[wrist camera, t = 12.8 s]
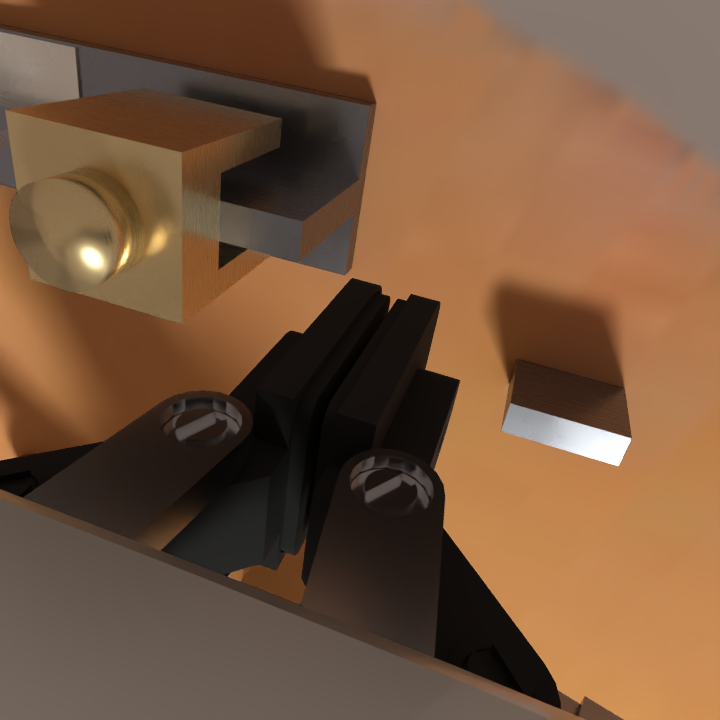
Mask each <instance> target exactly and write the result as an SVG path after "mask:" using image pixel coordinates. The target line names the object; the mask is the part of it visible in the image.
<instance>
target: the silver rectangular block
mask: <svg viewBox="0 0 720 720" xmlns="http://www.w3.org/2000/svg"><path fill="white" fill-rule="evenodd" d="M501 431H502V432H506V433H509V434H512V435H516V436H519V437H522V438H526V439H529V440H532V441H536V442H539V443H542V444H546V445H549V446H552V447H556V448H559V449H563V450H566V451H569V452H573V453H576V454H579V455H583V456H586V457H589V458H593V459H596V460H599V461H603V462H606V463H609V464H613V465H616V466H619V464H620V462H621V460H622V457H623V455H624V453H625V451H626V449H627V447H628V445H629V443H630V441H631V439H632V437H631V430H630V422H629V415H628V408H627V401H626V393H625V389H623V388H620V387H616V386H613V385H609V384H605V383H602V382H598V381H594V380H591V379H587V378H584V377H580V376H576V375H573V374H569V373H565V372H562V371H558V370H555V369H551V368H547V367H544V366H540V365H536V364H533V363H529V362H526V361H522V360H517V363H516V366H515V369H514V372H513V375H512V378H511V381H510V384H509V388H508V394H507V400H506V405H505V411H504V417H503V422H502V428H501Z"/></svg>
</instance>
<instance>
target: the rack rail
mask: <svg viewBox="0 0 720 720" xmlns="http://www.w3.org/2000/svg"><path fill="white" fill-rule="evenodd" d="M141 88H147V89H152V90H156V91H161V92H165V93H170V94H174V95H179V96H183V97H188V98H192V99H197V100H201V101H206V102H210V103H215V104H219V105H224V106H228V107H233V108H237V109H242V110H246V111H251V112H255V113H260V114H264V115H269V116H273V117H278V118H282V125H281V138H280V147H279V148H277V149H274V150H272V151H270V152H267V153H265V154H263V155H261V156H258V157H256V158H254V159H251V160H249V161H247V162H244V163H242V164H240V165H238V166H235V167H233V168H231V169H228V170H226V171H224V172H221V191H220V226H219V241H220V242H224V243H228V244H231V245H235V246H239V247H243V248H247V249H250V250H254V251H258V252H262V253H265V254H269V255H271V256H273V257H277V258H281V259H285V260H288V261H292V262H296V263H300V264H304V265H307V266H311V267H315V268H319V269H322V270H326V271H330V272H334V273H338V274H341V275H346V274H347V273H348V272H349V270H350V269H351V268H352V262H353V255H354V248H355V242H356V235H357V228H358V222H359V215H360V208H361V202H362V195H363V188H364V182H365V175H366V168H367V162H368V155H369V148H370V142H371V135H372V128H373V122H374V115H375V109H376V103H373V102H368V101H363V100H358V99H354V98H349V97H344V96H339V95H334V94H330V93H325V92H320V91H315V90H311V89H306V88H301V87H296V86H291V85H287V84H282V83H277V82H272V81H267V80H263V79H258V78H253V77H248V76H244V75H239V74H234V73H229V72H224V71H220V70H215V69H210V68H205V67H200V66H196V65H191V64H186V63H181V62H177V61H172V60H167V59H162V58H157V57H153V56H148V55H143V54H138V53H134V52H129V51H124V50H119V49H114V48H110V47H105V46H100V45H95V44H90V43H86V42H81V41H76V40H71V39H67V38H62V37H57V36H52V35H47V34H43V33H38V32H33V31H28V30H24V29H19V28H14V27H9V26H4V25H0V184H1V185H5V186H9V187H12V188H16V189H17V187H16V181H15V174H14V167H13V160H12V153H11V147H10V140H9V133H8V126H7V120H6V113H5V110H9V109H15V108H21V107H27V106H34V105H40V104H46V103H53V102H59V101H65V100H71V99H78V98H84V97H90V96H97V95H103V94H109V93H115V92H122V91H128V90H134V89H141Z"/></svg>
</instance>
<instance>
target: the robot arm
mask: <svg viewBox="0 0 720 720" xmlns="http://www.w3.org/2000/svg"><path fill="white" fill-rule="evenodd" d="M389 305H390V296H387V295H383V294H382V288H381V286H380V285H376V284H372V283H369V282H365V281H361V280H358V279H354V278H352V279H351V280H350V281H349V282H348V283H347V284H346V285H345V286H344V288H343V289H342V290H341V291H340V292H339V293H338V294H337V296H336V297H335V298H334V299H333V300H332V301H331V302H330V304H329V305H328V306H327V307H326V308H325V309H324V310H323V312H322V313H321V314H320V315H319V316H318V317H317V318H316V320H315V321H314V322H313V323H312V324H311V325H310V326H309V328H308V329H307V330H306V331H305V332H304V333H303V334H302V333H299V332H295V331H289V332H288V333H286V334H285V335H284V336H283V337H282V339H281V340H280V341H279V342H278V343H277V344H276V345H275V346H274V347H273V348H272V349H271V350H270V352H269V353H268V354H267V355H266V356H265V357H264V358H263V359H262V360H261V361H260V362H259V363H258V364H257V366H256V367H255V368H254V369H253V370H252V371H251V372H250V373H249V374H248V375H247V376H246V377H245V378H244V380H243V381H242V382H241V383H240V384H239V385H238V386H237V387H236V388H235V389H234V390H233V391H232V392H231V394H230V395H226V394H223V393H220V392H213V391H191V392H186V393H182V394H178V395H174V396H172V397H170V398H168V399H166V400H164V401H163V402H161V403H159V404H158V405H157V406H155V407H154V408H152V409H151V410H149V411H148V412H146V413H145V414H143V415H142V416H141V417H139V418H138V419H136V420H135V421H133V422H132V423H130V424H129V425H127V426H126V427H125V428H123V429H122V430H120V431H119V432H117V433H116V434H114V435H113V436H112V437H110V438H109V439H107V440H106V441H104V442H98V443H93V444H88V445H82V446H77V447H71V448H66V449H61V450H55V451H50V452H44V453H39V454H33V455H28V456H23V457H17V458H12V459H6V460H1V461H0V720H623V719H622V718H620V717H618V716H617V715H615V714H613V713H612V712H610V711H608V710H607V709H605V708H603V707H602V706H600V705H599V704H597V703H595V702H594V701H592V700H590V699H589V698H587V697H584V698H583V700H582V701H581V703H580V704H579V703H578V702H576V701H574V700H573V699H571V698H569V697H568V696H566V695H565V694H563V693H561V692H560V691H558V690H557V686H556V683H555V681H554V679H553V678H552V676H551V674H550V672H549V671H548V669H547V667H546V665H545V664H544V662H543V661H542V660H541V658H540V657H539V656H538V654H537V653H536V652H535V650H534V649H533V648H532V646H531V645H530V644H529V642H528V641H527V640H526V638H525V637H524V636H523V634H522V633H521V631H520V630H519V629H518V627H517V626H516V625H515V623H514V622H513V621H512V619H511V618H510V617H509V615H508V614H507V613H506V611H505V610H504V609H503V607H502V606H501V605H500V603H499V602H498V601H497V599H496V598H495V597H494V595H493V594H492V593H491V591H490V590H489V589H488V587H487V586H486V585H485V583H484V582H483V580H482V579H481V578H480V576H479V575H478V574H477V572H476V571H475V570H474V568H473V567H472V566H471V564H470V563H469V562H468V560H467V559H466V558H465V556H464V555H463V554H462V552H461V551H460V550H459V548H458V547H457V546H456V544H455V543H454V542H453V540H452V539H451V538H450V536H449V535H448V534H447V532H446V531H445V530H444V528H443V523H444V508H445V491H444V485H443V483H442V481H441V479H440V477H439V476H438V474H437V472H436V471H434V468H435V465H436V462H437V459H438V456H439V453H440V449H441V446H442V443H443V440H444V436H445V433H446V430H447V426H448V423H449V419H450V416H451V412H452V409H453V405H454V402H455V398H456V394H457V391H458V387H459V383H460V380H458V379H455V378H451V377H448V376H444V375H441V374H438V373H434V372H431V371H428V370H425V368H426V364H427V360H428V356H429V351H430V347H431V343H432V339H433V335H434V331H435V326H436V322H437V318H438V314H439V309H440V302H439V301H435V300H431V299H428V298H424V297H420V296H417V295H413V294H411V295H410V296H409V298H408V299H407V301H405V300H401V299H397V300H396V302H395V303H394V305H393V306H392V308H391V309H390V311H389V312H388V310H389ZM306 537H307V538H306ZM305 539H306V545H305V552H304V562H303V569H302V577H301V578H302V580H303V582H304V584H305V586H306V589H305V592H304V595H303V599H302V602H301V605H299V604H296V603H294V602H291V601H289V600H286V599H284V598H281V597H279V596H276V595H273V594H271V593H268V592H266V591H263V590H261V589H258V588H255V587H253V586H250V585H248V584H245V583H243V582H240V581H241V580H242V577H243V571H244V568H248V567H251V566H254V565H258V564H260V565H262V566H265V567H268V568H270V569H273V570H277V568H278V566H279V564H280V562H281V561H282V559H283V557H284V555H285V553H286V552H287V553H290V554H293V555H296V554H297V553H298V552H299V550H300V548H301V546H302V544H303V542H304V541H305Z"/></svg>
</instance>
